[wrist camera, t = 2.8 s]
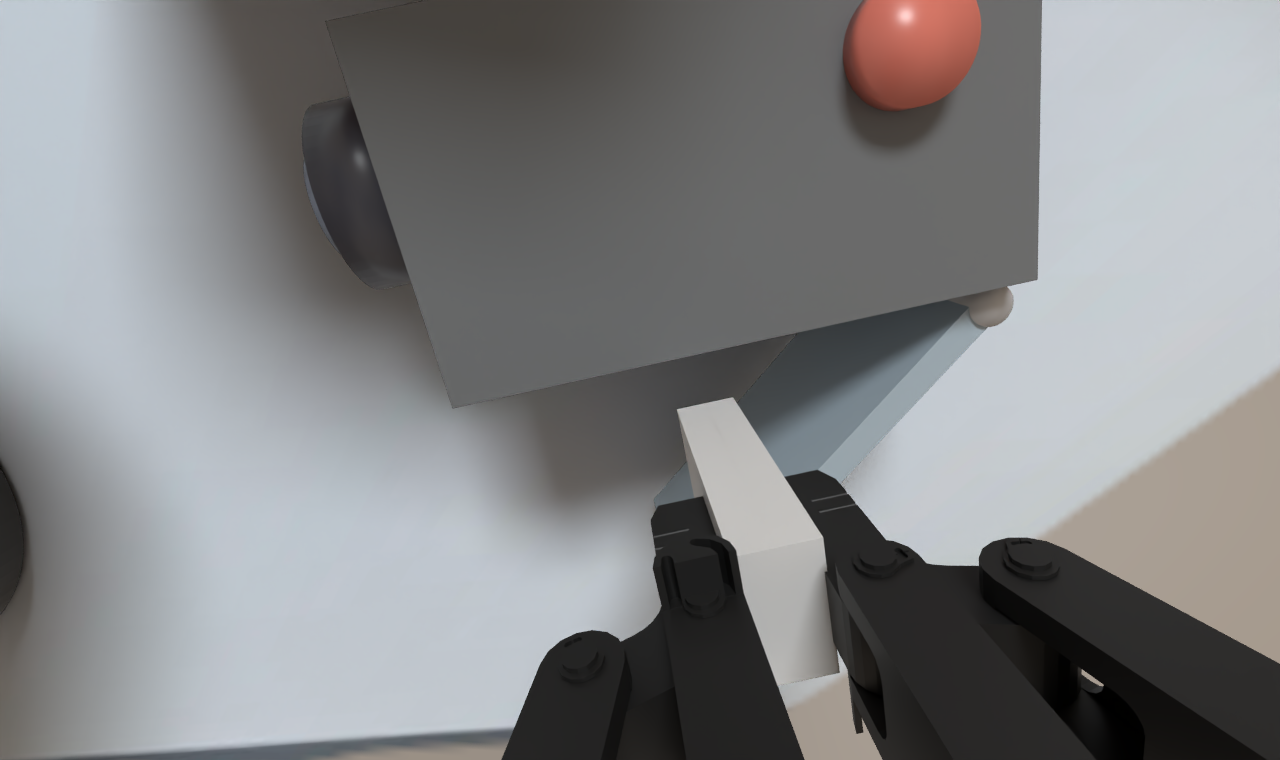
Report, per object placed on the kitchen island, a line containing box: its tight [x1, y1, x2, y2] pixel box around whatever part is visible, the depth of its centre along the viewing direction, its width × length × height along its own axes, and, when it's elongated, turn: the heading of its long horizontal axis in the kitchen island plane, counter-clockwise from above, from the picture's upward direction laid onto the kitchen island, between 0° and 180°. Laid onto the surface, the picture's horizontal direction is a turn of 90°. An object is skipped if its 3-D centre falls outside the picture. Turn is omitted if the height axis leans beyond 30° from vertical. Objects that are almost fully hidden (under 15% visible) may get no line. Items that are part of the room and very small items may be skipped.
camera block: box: [302, 0, 1042, 408], centre depth 17 cm, size 16×8×10 cm, turn 101°
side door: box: [654, 287, 1014, 509], centre depth 20 cm, size 13×1×7 cm, turn 141°
